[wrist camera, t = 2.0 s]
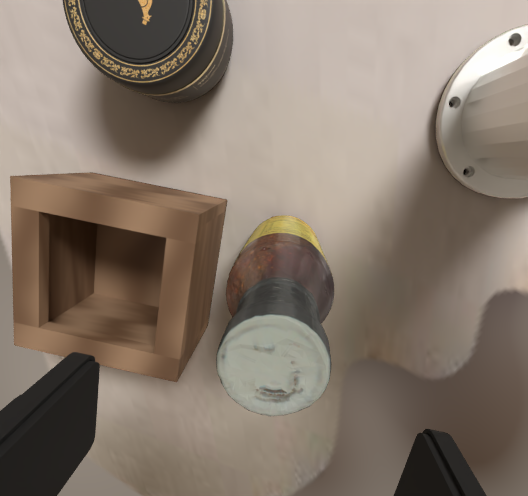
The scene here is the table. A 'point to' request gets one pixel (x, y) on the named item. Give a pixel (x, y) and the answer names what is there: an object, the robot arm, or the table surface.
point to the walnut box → (113, 269)
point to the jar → (155, 43)
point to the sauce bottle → (277, 320)
